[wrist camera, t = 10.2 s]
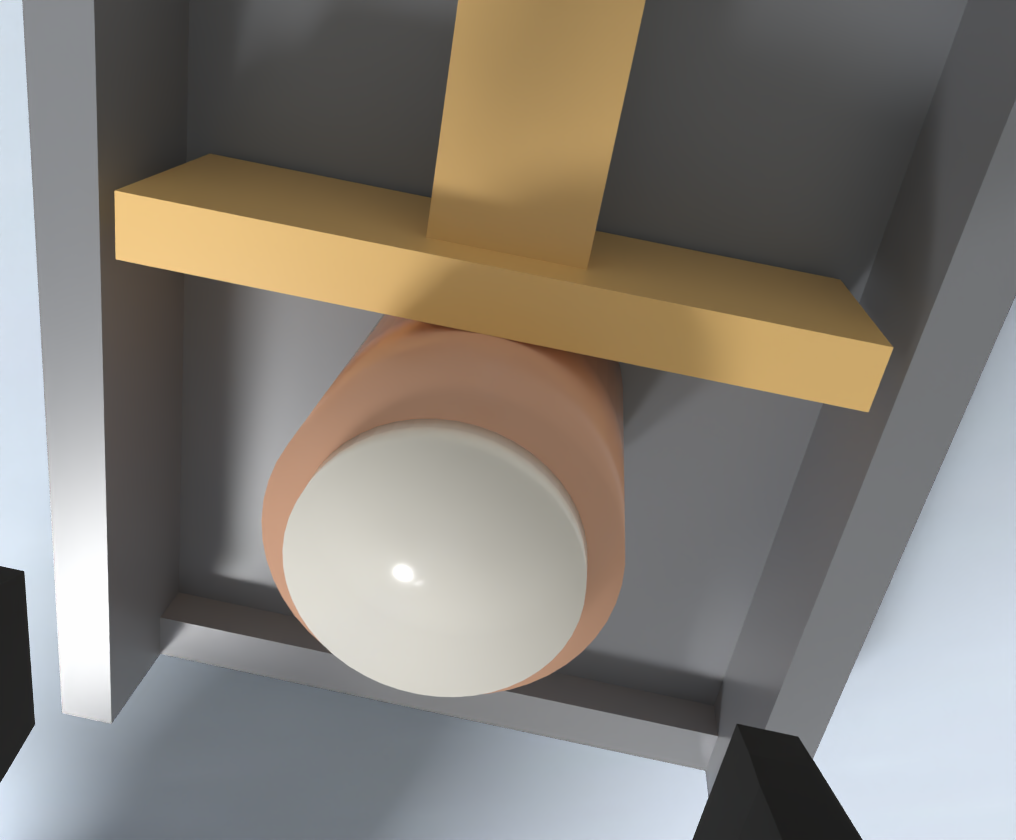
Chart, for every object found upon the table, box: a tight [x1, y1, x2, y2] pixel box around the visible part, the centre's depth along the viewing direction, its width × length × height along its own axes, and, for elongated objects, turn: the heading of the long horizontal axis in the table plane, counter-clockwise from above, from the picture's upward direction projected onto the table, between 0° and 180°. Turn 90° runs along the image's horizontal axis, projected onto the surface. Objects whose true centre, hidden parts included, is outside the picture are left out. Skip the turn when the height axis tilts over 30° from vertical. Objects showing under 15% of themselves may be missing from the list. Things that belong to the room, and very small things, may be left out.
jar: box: [261, 314, 625, 697], centre depth 15 cm, size 5×5×6 cm
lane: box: [22, 0, 1016, 797], centre depth 14 cm, size 22×14×4 cm, turn 170°
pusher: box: [114, 0, 894, 412], centre depth 13 cm, size 7×11×3 cm, turn 80°
